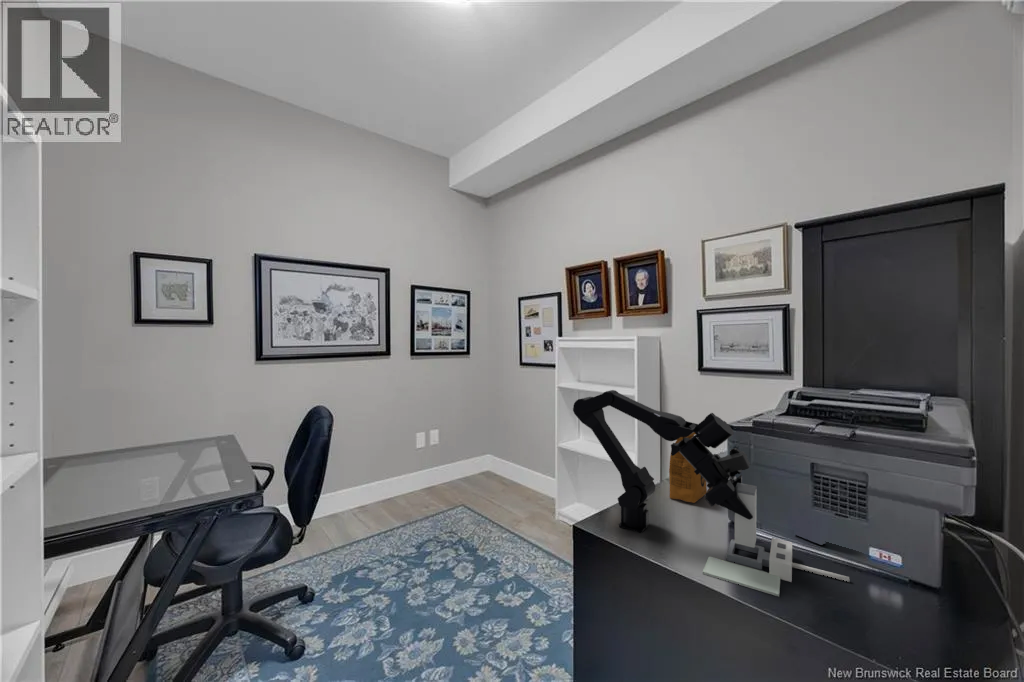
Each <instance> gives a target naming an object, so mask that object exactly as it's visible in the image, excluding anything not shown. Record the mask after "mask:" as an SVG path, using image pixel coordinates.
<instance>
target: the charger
mask: <svg viewBox="0 0 1024 682" xmlns="http://www.w3.org/2000/svg"><path fill="white" fill-rule="evenodd" d="M737 486H738V496H739V498H740V499H741V500H742V502H743V503H744V504H745V506H746V507H747V509H748V510H749V511H750V513H751V514H752V516H753V518H752V519H750V520H749V519H747V518H745V517H743V516H741V515H739V514H737V513H735V512H734V540H735V543H737V544H741V545H745V546H748V547H752V548H755V545H756V542H757V509H758V508H757V493H758V492H757V491H758V490H757V488H758V486H757V485H753V484H747V483H743V482H742V483H737V485H736V487H737Z"/></svg>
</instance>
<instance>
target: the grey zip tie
mask: <svg viewBox="0 0 1024 682" xmlns="http://www.w3.org/2000/svg"><path fill="white" fill-rule="evenodd" d="M736 549H738V550H741V551H746V552H749V553H754V554H757V558H756V559H755V558H751V557H746V556H743V555H740V554H736V553H735V551H736ZM726 561H727V562H731V563H734V562H735V564H738V565H742V566H746V567H749V568H753V569H756V570H760V571H763V567H766V568H768V569H769V571H768V573H769V574H772V575H776V576H779V577H780V580H782V581H786V582H790V583H793V582H792V581H793V580H792V579H793V578H792V577H793V576H792V575H793V569H797V570H801V571H804V570H805V572H808V571H809V573H812V572H813V574H817V575H819V576H820V575H821V576H823V575H824V576H823V577H827V576H828V577H827V578H831V577H832V578H831V579H835V578H836V579H837V580H840V581H843V580H844V581H843V582H846V581H847V583H850V576H846V575H843V574H839V573H835V572H831V571H827V570H822V569H819V568H816V567H811V566H807V565H804V564H801V563H796V562H793V542H791V541H787V540H782V539H780V538H774V537H772V538H771V543H770V552H767V551H765V547H764V546H761V545H758V544H757V545H756V544H755V548H752V547H748V546H745V545H741V544H737V543H735V539H732V538H731V540H730V542H729V545H728V548H727V552H726Z"/></svg>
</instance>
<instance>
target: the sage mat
mask: <svg viewBox="0 0 1024 682" xmlns="http://www.w3.org/2000/svg"><path fill="white" fill-rule="evenodd" d="M702 575H705V576H708V577H712V578H716V579H718V578H719V580H721V581H725V580H726V581H725V582H728V581H729V582H728V583H732V584H735V585H738V584H739V586H742V587H745V588H749V589H753V590H756V591H759V592H763V593H765V594H769V595H773V596H775V597H778V598H780V590H781V589H780V588H781V579H780V577H779V576H776V575H772V574H769V572H767V571H764V570H760V569H756V568H753V567H749V566H745V565H742V564H738V563H734V562H731V561H727V560H723V559H719V558H716V557H712V556H708V558H707V561H706V563H705V565H704V567H703V570H702Z"/></svg>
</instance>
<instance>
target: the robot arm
mask: <svg viewBox="0 0 1024 682" xmlns="http://www.w3.org/2000/svg"><path fill="white" fill-rule="evenodd" d="M609 406H610V407H612V408H614V409H616V410H618V411H619V412H621V413H622V414H623V413H624V414H626V415H627V416H630V417H631V418H634V419H636V420H637V421H639V422H642V423H643V424H645V425H647V426H648V427H649V428H650V429H651V430H652V431H653V432H654V433H655V434H656V435H658V436H659V437H661V438H662V439H663V440H665V441H667V442H673V443H671V444H670V448H671V450H670V455H672V456H674V455H675V454H676V453H677V452H680V453H681V454H682V455H683V456H684V457H685V459H686V460H687V461H688V462H689V463H690V464H691V465H692V466H693V467H694V468H695V471H694V472H695V473H696V474H697V475H698V474H700V475H701V476H702V477H703V478H704V479H705V481H706V488H708V489H707V492H706V494H705V495H704V497H705V498H704V500H705V501H706V502H707V503H708V505H710V506H711V507H713V506H715V505H716V506H721V507H723V508H725V509H727V510H730V511H731V512H734V514H735V513H737V514H739V515H741V516H743V517H745V518H747V519H749V520H750V519H752V518H753V516H752V514H751V513H750V511H749V510H748V509H747V507H746V506H745V504H744V503H743V502H742V500H741V499H740V498H739V496H738V486H737V487H736V485H737V483H742V484H743V475H742V472H743V471H745V470H748V469H750V466H751V463H750V461H749V459H748V454H747V453H745V451H744V450H742V451H741V450H740V449H739V448H738V447H734V448H731V449H730V450H729V455H728V454H727V455H726V456H722V457H721V456H720V455H719V453H718V454H716V453H712V452H711V450H710V449H709V448H712V449H716V448H718V447H719V446H720V445H721V444H723V443H724V442H726V441H728V439H730V438H731V437H733V436H734V435H735V433H734V430H733V429H732V427H731V426H730V425H729V424H728V422H726V421H725V420H723V419H722V418H721V417H719V416H717V415H716V414H715V413H713V412H710V413H709V414H708V415H707V416H706V417H704V419H703V420H702V421H701V422H699V423H695V422H691V421H687V420H686V419H684V417H683V416H680V415H677V414H674V413H670V412H665V411H660V410H656V409H653V408H651V407H650V406H647V405H645V404H643V403H641V402H639V401H637V400H634V399H633V398H630V397H628V396H627V395H624V394H621V393H619V392H618V391H617V390H614V389H612V390H611V389H610V390H606V391H604V392H603V393H601V394H598V395H595V396H586V397H582V398H579V399H576V400H575V402H574V403H573V408H572V411H573V413H574V416H576V417H577V418H578V420H579V421H580V422H581V423H582V425H585V426H586V427H588V428H589V429H590V430H591V431H592V432H593V434H594V436H595V437H596V438H597V440H598V442H599V444H600V445H601V446H602V448H603V449H604V451H605V453H607V454H606V455H608V457H609V459H610V460H611V462H612V464H613V465H614V466H615V467H616V469H617V471H618V472H619V475H620V480H621V484H622V488H623V490H624V493H622V494H621V495H619V496H618V497H617V501H618V505H619V506H620V522H619V523H618V527H620V528H623V529H627V530H630V531H633V532H637V533H643V532H644V531H645V530H646V529H647V527H648V526H649V522H650V516H649V515H650V511H649V509H648V507H647V506H648V504H647V501H648V500H649V498H651V497H652V496H653V494H654V493H655V491H656V484H655V482H654V480H655V478H654V477H653V476H652V475H651V474H650V472H649V471H648V469H647V467H646V466H642V467H639V466H638V465H636V464H635V463H634V461H633V460H632V458H631V457H630V455H629V453H627V450H626V449H625V448H624V446H623V445H622V444H621V442H620V441H619V439H618V437H617V435H615V434H614V431H613V430H612V428H611V427H610V425H609V424H608V423H607V420H606V417H605V411H604V408H606V407H609ZM692 433H695V435H694V436H693V437H692V438H691V439H689V438H686V437H688V436H689V435H691V434H692ZM680 437H685V438H684V439H682V440H681V441H680V442H679V443H675V442H676V441H677V439H679V438H680ZM736 475H739V476H738V477H737V476H736ZM645 502H646V503H645Z"/></svg>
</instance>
